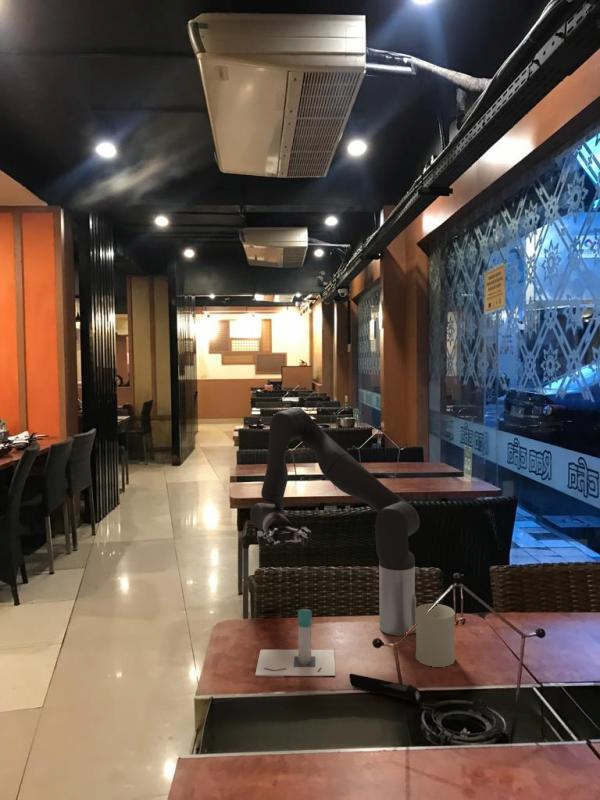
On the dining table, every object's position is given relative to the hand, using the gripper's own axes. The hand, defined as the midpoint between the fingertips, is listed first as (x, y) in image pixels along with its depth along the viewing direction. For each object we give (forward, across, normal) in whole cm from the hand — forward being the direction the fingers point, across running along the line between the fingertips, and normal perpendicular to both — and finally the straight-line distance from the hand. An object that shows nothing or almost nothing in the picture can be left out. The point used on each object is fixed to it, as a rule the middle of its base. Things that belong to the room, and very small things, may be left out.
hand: (289, 543), depth 156 cm
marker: (+16, 0, +24) cm, 29 cm away
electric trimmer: (+33, +13, +25) cm, 43 cm away
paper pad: (+15, -2, +24) cm, 29 cm away
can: (+21, +30, +25) cm, 45 cm away
